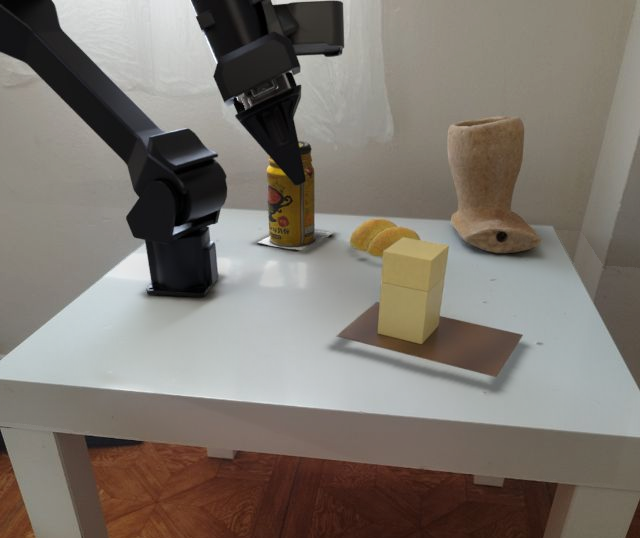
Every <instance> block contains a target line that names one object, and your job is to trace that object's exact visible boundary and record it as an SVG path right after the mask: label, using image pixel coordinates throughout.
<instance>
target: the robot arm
mask: <svg viewBox="0 0 640 538" xmlns="http://www.w3.org/2000/svg"><path fill="white" fill-rule="evenodd" d="M189 2H190V4H191V7H192V8H193V10H194V13H195V15H196V16H195V19H196V21H197V24H198V26H199V28H200V31H201V32H202V34H203V35H204V37H205V39H206V42H207V44H208V46H209V49H210V51H211V54H212V55H213V56H212V57H213V58H214V61H215V63H216V66H215V70H214V72H213V75H212V76H213V79H214V82H215V84H216V86H217V89H218V91H219V94H220V96H221V98H222V101H223V103H224V104H225V106H227V107H230V106H234V108H235V112H236V114H235V115H234V117H235V119H236V120H237V121H238V122H239V124H240V125H241V126H242V127H243V128H244V129H245V130H246V132H247V133H248V134H249V135H250V136H251V137H252V138H253V139H254V141H256V143H257V144H258V145H259V146H260V147H261V148H262V150H263V151H264V152H265V153H266V154H267V156H268V157H269V156H270V157H271V158H272V160H273V161H274V162H275V163H276V164H277V165H278V166H279V168H280V169H281V170H282V171H283V172H284V173H285V175H286V176H287V177H288V178H289V179H290V180H291V181H292V183H293V184H294V185H296V186H298V185H300V184H302V183H304V182H305V181H306V177H305V172H304V167H303V162H302V157H301V152H300V148H299V143H298V141H299V138H298V133H297V129H296V123H295V119H294V118H295V115H296V112H297V109H298V107H299V104H300V102H301V99H302V84H297V82H296V80H295V77H294V76H295V75H298V74H299V73H301V64H300V60H299V58H298V57H302V56H303V57H304V56H323V57H325V58H331V57H332V58H333V57H340V56H341V55H342V54H343V50H344V48H345V21H344V20H345V19H344V18H345V17H344V2H343V1H340V0H315V1H314V0H312V1H295V2H292V1H291V2H288V3H278V4H273V2H272V0H189ZM0 53H1V54H3V55H6V56H8V57H11V58H12V59H15V60H18V61H20V62H22V63H24V64H26V65H27V66H28V67H29V68H30V69H31V70H32V71H33V72H34V73H35V74H36V75H37V76H38V77H39V78H40V79H41V80H42V81H44V83H45V84H46V85H47V86H48V87H49V88H50V89H51V90H52V91H53V92H54V93H55V94H56V95H57V96H58V97H59V98H60V99H61V100H62V101H63V102H64V104H66V105H67V106H68V107H69V108H70V109H71V110H72V111H73V112H74V113H75V114H76V115H77V116H78V117H79V118H80V119H81V120H82V121H83V122H84V123H85V124H86V125H87V126H88V127H89V128H90V129H91V130H92V131H93V132H94V133H95V134H96V135H97V136H98V137H99V138H100V139H101V140H102V142H104V143H105V144H106V145H107V146H108V148H110V149H111V150H112V151H113V152H114V153H115V154H116V155H117V156H118V157H119V158H120V159H121V160H122V161H123V163H125V165H126V167H127V170H128V174H129V178H130V182H131V185H132V190H133V191H134V193H135V194H136V196H137V197H138V198H137V200H136V202H135V203H134V205H132V207H131V209H130V210H129V212H128V213H127V215H126V216H125V221H126V223H127V225H128V227H129V230H130V233H131V235H132V237H133V238H134V239H139V240H143V241H144V244H145V250H146V255H147V263H148V269H149V275H150V282H151V283H150V284H149V285H148V286H147V287H146V289H145V290H146V291H145V292H146V294H148V295H159V296H160V295H161V296H173V297H174V296H175V297H177V296H178V297H191V298H195V297H196V298H203V297H206V295H207V293H208V292H209V291H210V289H211V288H212V286H213V285H214V284H215V282H216V281H217V280H218V278H219V271H218V270H219V269H218V258H217V257H218V256H217V247H216V243H215V241H211V233H210V227H209V226H211V225H216V224H218V223H219V219H220V214H221V208H222V207H223V206H224V205H225V203H226V200H227V198H228V183H227V174H226V172H225V170H224V168H223V167H222V165H221V163H220V162H218V161H217V160H216V159H217V158H219V154H218V153H217V152H215V151H213V150H210V149H209V148H208V147H207V146H206V145H205V144H204V143H203V142H202V140H201V139H200V137H199V136H198V135H197V133H195V132H194V131H193V130H192V129H191V128H189V127H185V128H179V129H175V130H173V131H165V130H163V129H162V128H161V127H159V126H158V125H157V123H155V122H154V121H153V120H152V118H150V117H149V116H148V115H147V113H145V112H144V111H143V109H142V108H140V106H138V105H137V103H135V102H134V101H133V100H132V99H131V98H130V97H129V96H128V95H127V94H126V93H125V91H124V90H122V89H121V87H119V86H118V84H116V83H115V82H114V81H113V79H112V78H111V77H110V76H108V75H107V73H105V72H104V71H103V69H102V68H101V67H99V65H98V64H97V63H96V62H95V61H94V60H92V58H91V57H89V56H88V54H87V53H86V52H85V51H83V49H82V48H81V47H80V46H79V45H78V44H77V43H76V42H75V41H74V40H73V39H72V38H71V37H70V36H69V35H68V34H67V33H66V32H65V31H64V30H63V28H62V26H61V23H60V18H59V14H58V11H57V6H56V4H55V2H54V1H53V0H0Z"/></svg>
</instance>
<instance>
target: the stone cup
mask: <svg viewBox="0 0 640 538" xmlns="http://www.w3.org/2000/svg"><path fill="white" fill-rule="evenodd" d="M524 142H525V126H524V122H523V120H522V119H521V118H520V117H519V116H517V115H515V116H513V117H511V116H507V115H499V116H491V117H484V118H480V119H468V120H462V121H457V122H454V123H452V124H451V125H449V128H448V130H447V142H446V145H447V160H448V165H449V168H450V171H451V175H452V179H453V182H454V187H455V192H456V197H457V203H458V205H457V207H458V208H457V211H455V212H454V213H452V214H451V217H450V223H451V225H452V227H453V228H454V230H455V231H456V233H457V234H458V235H459V237H460V238H461V240H463V241H464V242H465V243H467V244H468V245H470V246H472V247H475V248H478V249H480V250H483V251H486V252H490V253H493V254H510V253H512V254H515V253H519V252H525V251H528V250H531V249H535V248H537V247H539V246H540V245H541V244H542V243H543V241H542V238H541V237H540V236H539V234H538V233H537V231H535V230H534V228H533V227H532V226H530V225H529V223H528V222H527V221H526V220H525V219H524V218H523V217H522V216H520V214H518V213H516V212H514V211H512V200H513V194H514V190H515V187H516V183H517V180H518V177H519V175H520V171H521V168H522V163H523V157H524V145H525V144H524Z"/></svg>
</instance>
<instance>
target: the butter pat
mask: <svg viewBox="0 0 640 538" xmlns="http://www.w3.org/2000/svg"><path fill="white" fill-rule="evenodd" d="M449 249H450V245H449V244H443V243H438V242H433V241H427V240H422V239H420V240H416V239H410V238H405V237H403V238H401V239H400V240H398V241H397V242H396V243H394V244H393V245H391V246H390V247H389V248H387V249H386V250H384V251H383V257H382V265H381V279H380V283H381V282H384V283H388V284H393V285H398V286H403V287H407V288H412V289H417V290H422V291H426V292H428V291H429V290H430V289H431V288H432V287H433V286H434V285H436V284H437V283H438V282H439V281H440V280H441V279H442V278H443V277H444V276H445V277H446V272H447V266H448V265H447V264H448V256H449Z"/></svg>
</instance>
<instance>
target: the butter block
mask: <svg viewBox="0 0 640 538" xmlns="http://www.w3.org/2000/svg"><path fill="white" fill-rule="evenodd" d="M445 278H446V275H445V276H444V277H443V278H442V279H441V280H440V281H439V282H438V283H437V284H436V285H434V286H433V287H432V288H431V289H430V290H429V291H428V292H426V291H422V290H417V289H412V288H407V287H403V286H398V285H393V284H388V283H384V282H381V281H380V293H379V302H380V306H379V320H378V334H382V335H386V336H390V337H394V338H398V339H402V340H406V341H410V342H414V343H418V344H422V343H423V342H424V341H425V340H426V339H427V338H428V337H429V336H430V335H431V334H432V332H433V331H434V330H435V329H436V328H437V327H438V325H439V318H440V316H441V311H442V304H443V303H442V302H443V294H444V288H445V281H446V280H445Z"/></svg>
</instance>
